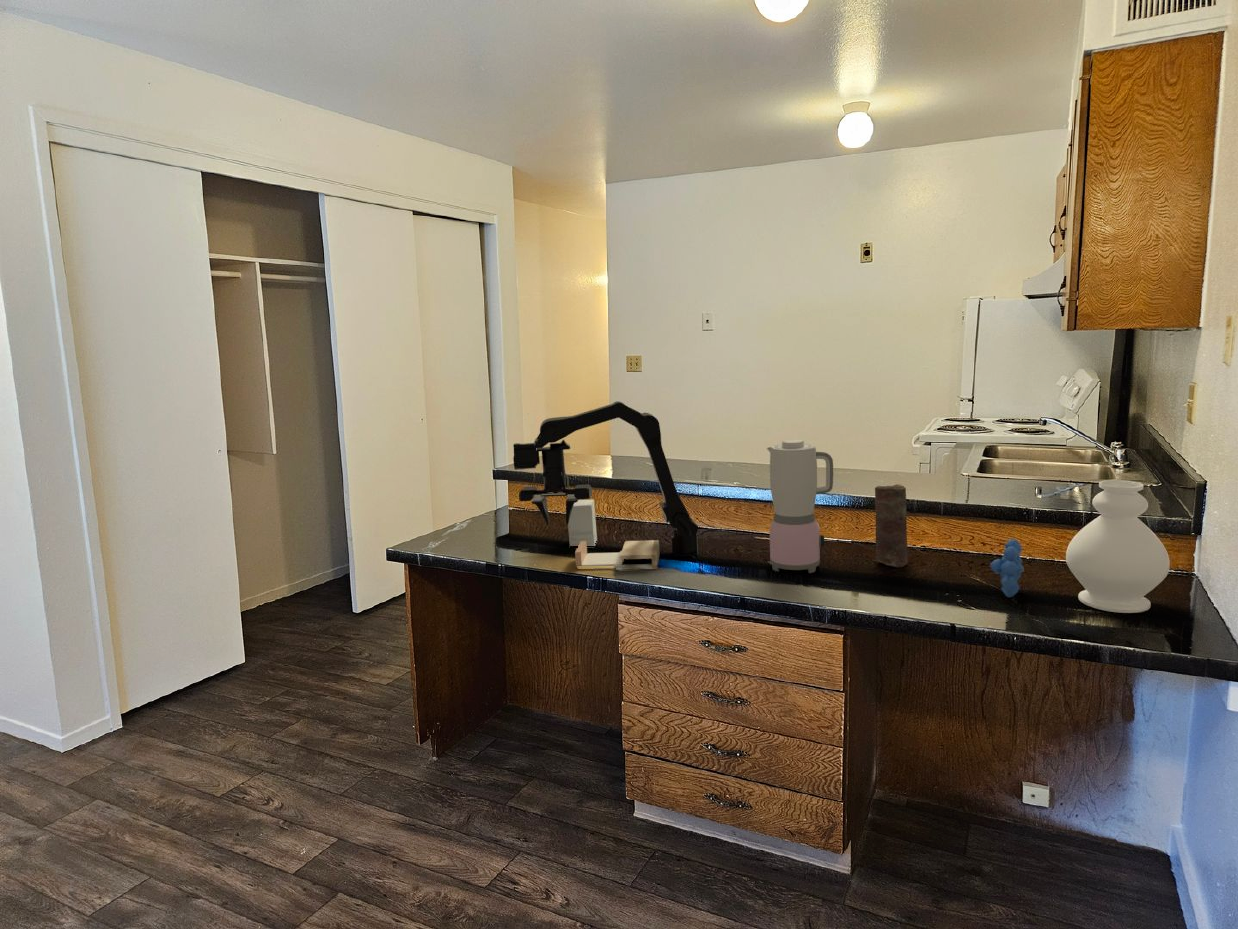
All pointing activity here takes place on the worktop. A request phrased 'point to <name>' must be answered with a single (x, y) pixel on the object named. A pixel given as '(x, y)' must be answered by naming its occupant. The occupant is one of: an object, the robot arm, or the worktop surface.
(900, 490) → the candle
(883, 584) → the worktop surface
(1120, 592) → the decorative vase
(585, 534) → the supplement box
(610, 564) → the beige blocky piece
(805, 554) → the blender
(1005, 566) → the grapes
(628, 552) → the beige open box
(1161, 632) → the worktop surface
